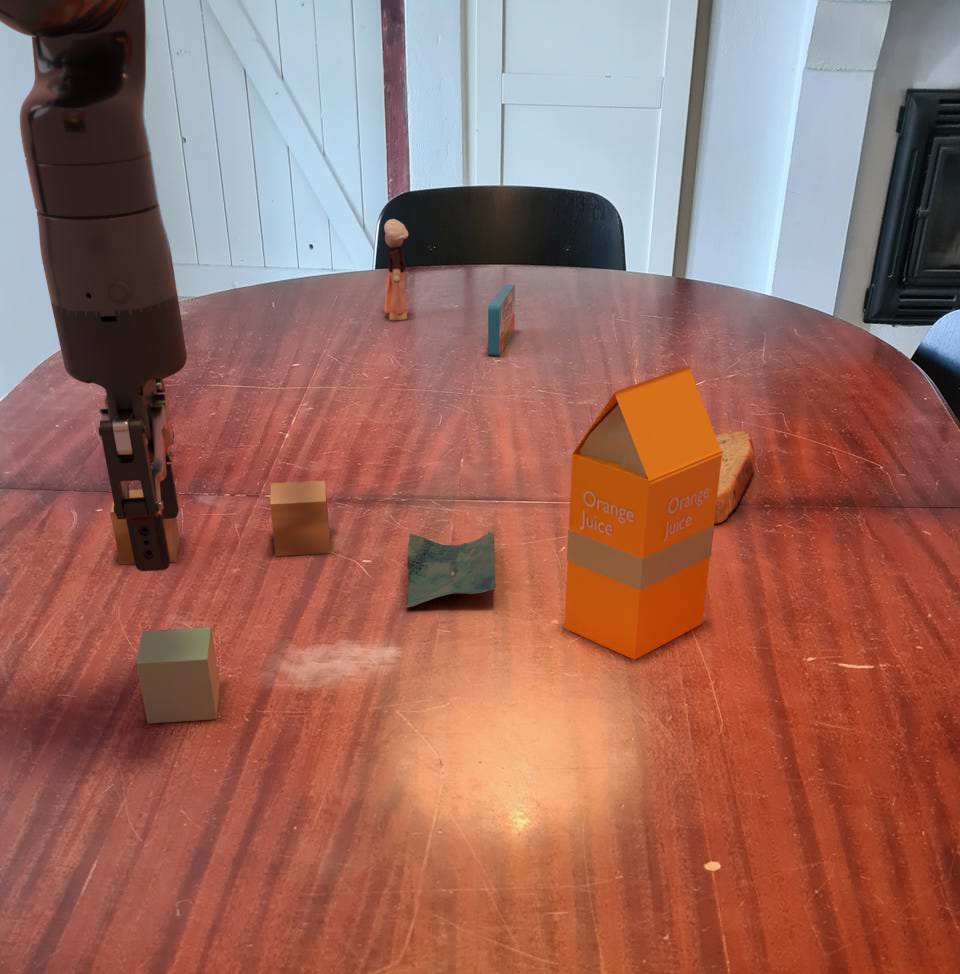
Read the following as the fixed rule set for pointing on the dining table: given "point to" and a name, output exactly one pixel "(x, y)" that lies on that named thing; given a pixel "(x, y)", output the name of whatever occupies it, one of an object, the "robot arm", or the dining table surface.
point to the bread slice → (733, 471)
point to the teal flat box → (501, 319)
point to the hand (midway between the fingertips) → (159, 542)
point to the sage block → (178, 675)
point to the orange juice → (642, 517)
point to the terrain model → (449, 568)
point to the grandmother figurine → (395, 271)
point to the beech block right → (300, 518)
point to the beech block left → (124, 538)
